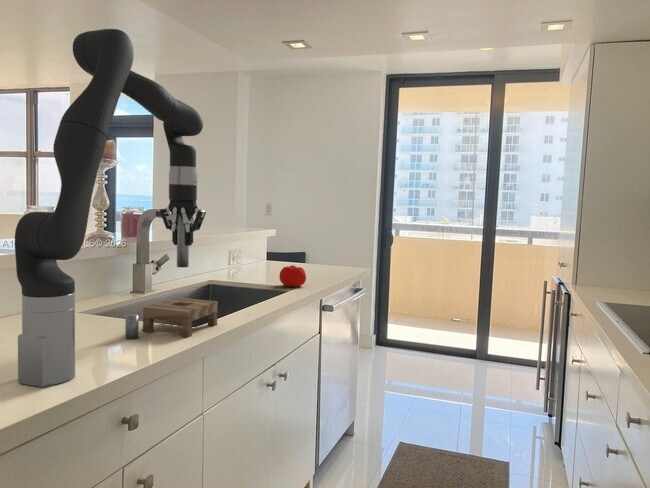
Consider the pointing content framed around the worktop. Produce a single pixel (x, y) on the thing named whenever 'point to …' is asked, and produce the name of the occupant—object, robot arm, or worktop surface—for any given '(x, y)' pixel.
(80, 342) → the worktop surface
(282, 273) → the tomato
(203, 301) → the wooden square-hole block
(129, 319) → the short pin
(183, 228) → the long pin
